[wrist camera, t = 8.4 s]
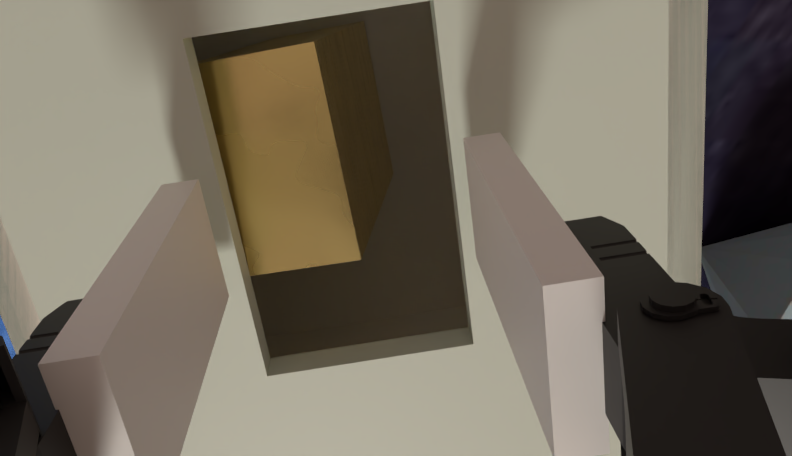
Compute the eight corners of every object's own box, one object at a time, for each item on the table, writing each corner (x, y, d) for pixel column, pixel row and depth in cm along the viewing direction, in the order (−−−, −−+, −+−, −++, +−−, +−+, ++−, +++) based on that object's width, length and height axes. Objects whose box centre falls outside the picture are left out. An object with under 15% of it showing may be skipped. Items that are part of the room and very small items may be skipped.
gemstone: (621, 339, 26) (760, 423, 24) (731, 142, 24) (893, 209, 22) (671, 327, 32) (784, 393, 30) (761, 171, 31) (888, 225, 28)
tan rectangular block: (307, 187, 25) (238, 277, 18) (272, 38, 24) (181, 66, 16) (393, 173, 25) (361, 259, 17) (363, 20, 23) (314, 41, 16)
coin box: (179, 358, 29) (101, 564, 20) (23, -155, 22) (-213, -210, 13) (584, 294, 29) (696, 471, 20) (559, -238, 22) (716, -352, 13)
